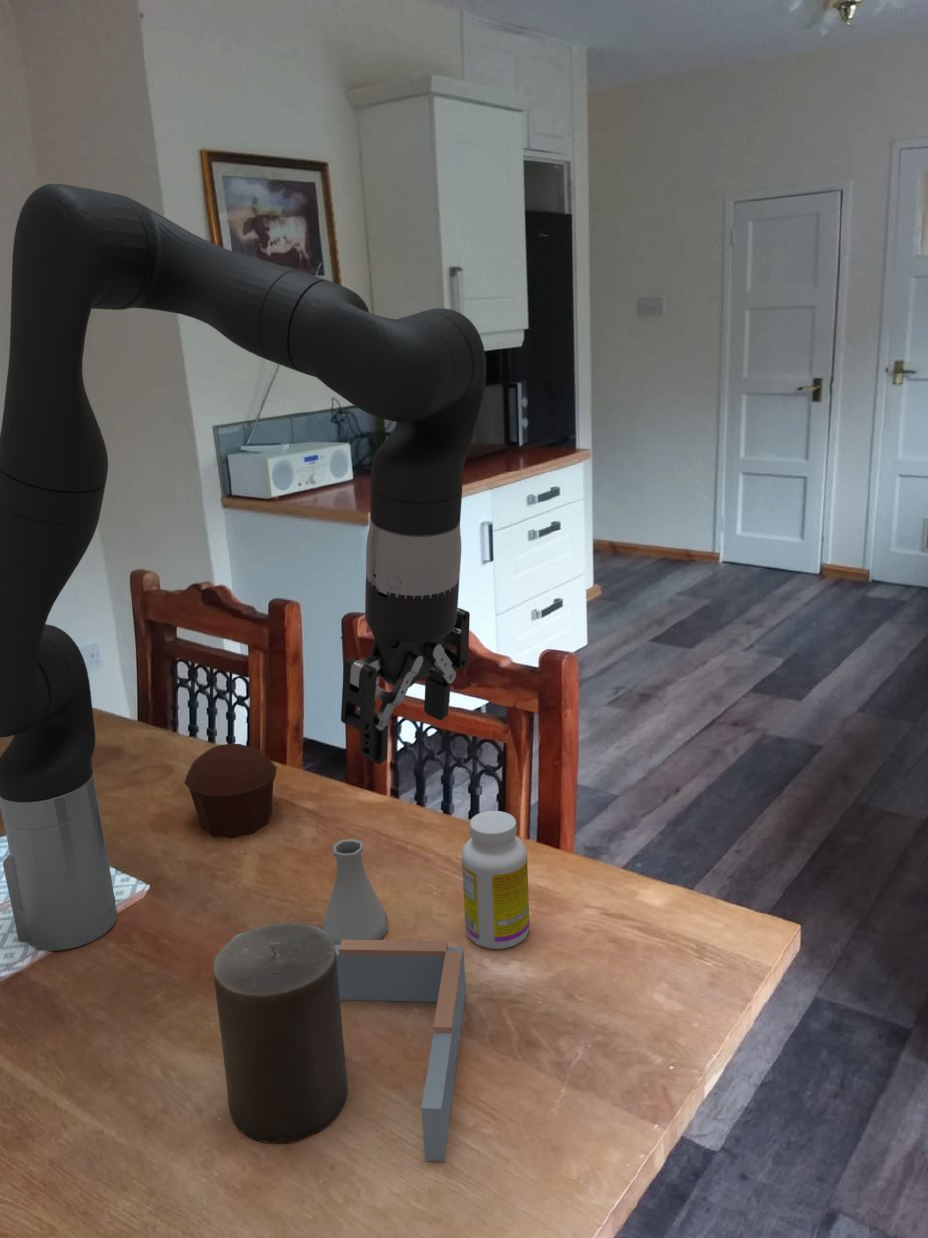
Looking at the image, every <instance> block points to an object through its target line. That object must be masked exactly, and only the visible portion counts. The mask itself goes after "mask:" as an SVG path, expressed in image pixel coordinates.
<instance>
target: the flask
mask: <svg viewBox="0 0 928 1238" xmlns="http://www.w3.org/2000/svg"><path fill="white" fill-rule="evenodd" d="M362 853H364V841H362V840H359V839H355V838H349V839H340V840H339V841H337V842H336V843H334V844H333V845H332V854H333V857H334V858H336V873H335V880H334V883H333V888H332V890H331V894H330V898H329V902H328V905H327V909H326V911H325V915H324V917H323V922H322V928H321V930H323V931H326V932H327V933H328V935H329V937H330V938H331V939H332V941H333V943H334V945H340V944H341V941H342V940H381V939H382V937H384V936H385V935H386V934H387V933H388V931H389V926H388V925H389V924H388V923H389V922H388V915H387V912H386V910H385V908H384V906H383V905H382V903H381V901H380V899H379V897H378V896H377V894H376V893H375V890H374V888H373V886H372V884H371V882H370V880H369V878H368V875H367V873H366V871H365V868H364V863H363V860H362Z"/></svg>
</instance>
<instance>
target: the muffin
mask: <svg viewBox="0 0 928 1238" xmlns="http://www.w3.org/2000/svg"><path fill="white" fill-rule="evenodd" d="M276 776H277V766H276V764H274V763H273V762H272V760H270V759H269V758H268V757H267V756H266V755H265V754H263V753H262V752H261V751H260V750H259V749H257V748H255V747H252V746H248V745H245V744H241V743H226V744H225V743H224V744H219V745H216V746H214V747H211V748H210V749H209V748H208V750H206V751H205V752H204V753H202V754H201V755H200V756H198V757H196V759H195V760H194V761H193V763H191V765H190V768H189V770H188V772H187V774H186V777H185V779H184V784H185V785H186V787H187V788H188V790H189V793H190V796H191V799H192V802H193V805H194V808H195V811H196V814H197V818H198V820H199V824H200V826H201V829H202V830H203V831H205V832H207V834H208V835H210V836H211V837H212V838H215V837H216V838H225V839H231V840H232V839H235V838H240V837H242V836H249V835H254V834H256V833H257V832H259V830H261V829H262V828H264V827H266V826H268V825H270V818H271V816H272V814H273V813H272V811H273V796H274V794H273V793H274V780H275V778H276Z"/></svg>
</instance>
